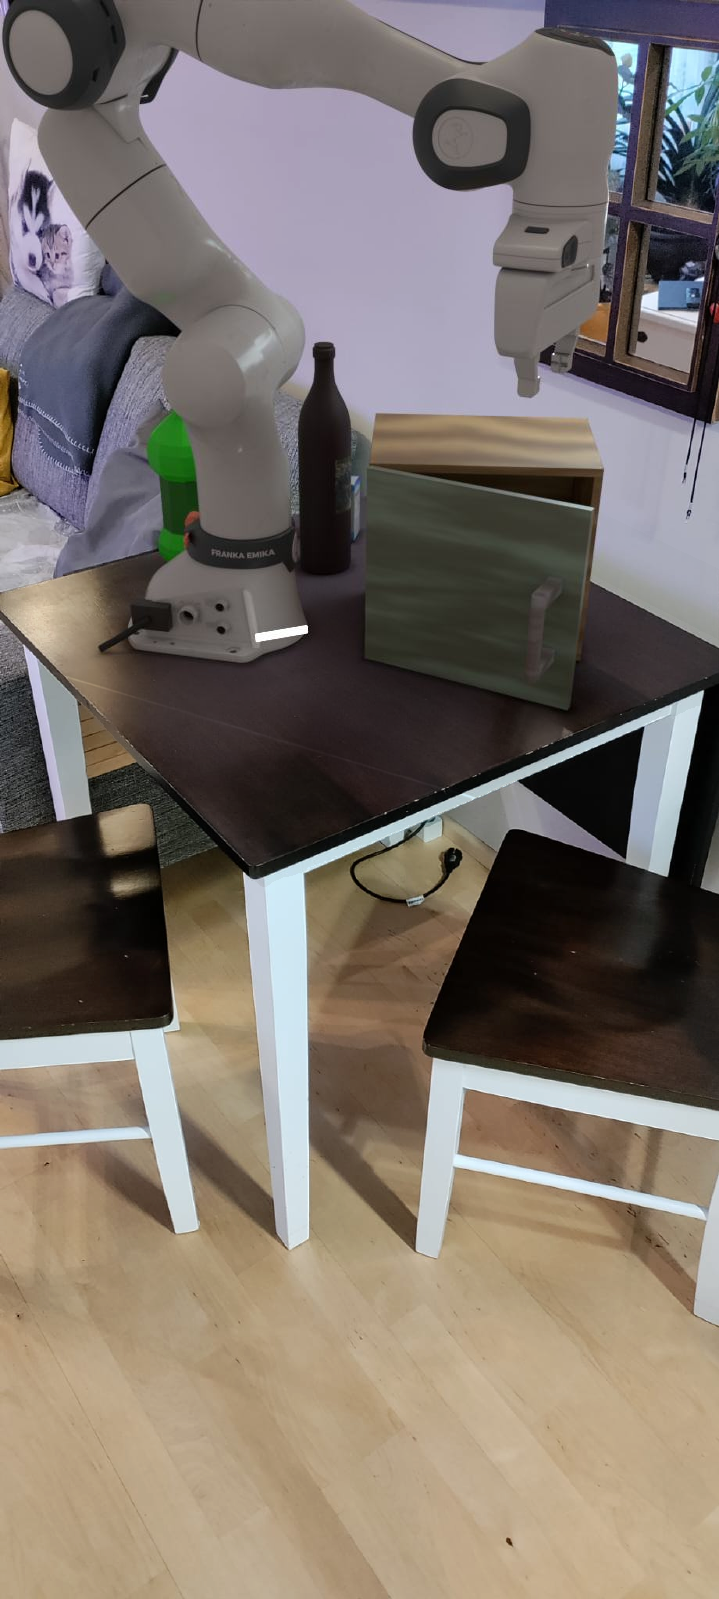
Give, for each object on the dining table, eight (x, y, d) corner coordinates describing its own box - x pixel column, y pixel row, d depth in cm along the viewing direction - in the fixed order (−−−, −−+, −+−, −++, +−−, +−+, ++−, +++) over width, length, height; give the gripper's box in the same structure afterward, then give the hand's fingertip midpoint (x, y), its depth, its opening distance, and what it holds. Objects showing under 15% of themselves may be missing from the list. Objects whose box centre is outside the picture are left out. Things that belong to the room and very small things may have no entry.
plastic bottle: (154, 583, 165) (136, 397, 151) (164, 552, 174) (148, 373, 159) (228, 584, 165) (217, 398, 151) (234, 552, 174) (225, 374, 159)
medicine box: (301, 538, 178) (300, 481, 173) (307, 527, 182) (306, 470, 177) (354, 542, 177) (355, 484, 172) (359, 530, 181) (360, 474, 176)
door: (549, 734, 134) (572, 530, 120) (341, 678, 143) (341, 484, 130) (570, 706, 139) (594, 507, 125) (368, 654, 148) (370, 465, 135)
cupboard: (580, 661, 148) (604, 468, 134) (366, 654, 149) (369, 462, 135) (567, 597, 163) (587, 417, 149) (373, 591, 164) (375, 412, 150)
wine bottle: (340, 579, 167) (340, 354, 149) (292, 571, 169) (287, 348, 151) (357, 559, 172) (359, 340, 155) (311, 552, 174) (308, 334, 157)
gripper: (562, 213, 123) (550, 354, 131) (485, 249, 108) (476, 405, 116) (623, 218, 120) (607, 361, 128) (552, 255, 105) (539, 415, 113)
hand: (544, 383), depth 122 cm, fingers open, 8 cm apart
